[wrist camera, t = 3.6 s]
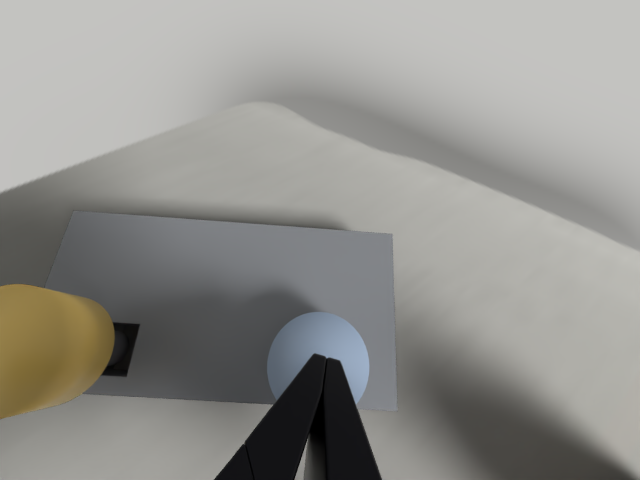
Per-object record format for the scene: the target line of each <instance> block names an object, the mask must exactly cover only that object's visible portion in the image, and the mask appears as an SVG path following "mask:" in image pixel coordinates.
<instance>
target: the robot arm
mask: <svg viewBox="0 0 640 480" xmlns="http://www.w3.org/2000/svg"><path fill="white" fill-rule="evenodd" d="M307 439H308V441H307ZM306 442H307V450H306V460H305V470H304V480H382V478H381V475H380V473H379V470H378V467H377V464H376V461H375V458H374V455H373V452H372V449H371V447H370V444H369V441H368V438H367V435H366V432H365V429H364V426H363V423H362V421H361V418H360V415H359V412H358V409H357V406H356V403H355V400H354V397H353V395H352V392H351V389H350V386H349V383H348V380H347V377H346V374H345V371H344V369H343V366H342V363H341V361H340V360H337V359H334V358H330V357H328V358H326V356H323V355H320V354H316V353H314V354H313V355H312V356H311V357H310V358H309V360H308V361H307V362H306V364H305V365H304V366H303V367H302V369H301V370H300V371H299V373H298V374H297V375H296V376H295V378H294V379H293V380H292V382H291V383H290V384H289V385H288V387H287V388H286V389H285V391H284V392H283V393H282V394H281V396H280V397H279V398H278V400H277V401H276V402H275V404H274V405H273V406H272V407H271V409H270V410H269V411H268V413H267V414H266V415H265V416H264V418H263V419H262V420H261V422H260V423H259V424H258V425H257V427H256V428H255V429H254V431H253V432H252V433H251V434H250V436H249V437H248V438H247V440H246V441H245V443H244V444H243V445H242V446H241V447H240V448H239V450H238V451H237V452H236V453H235V455H234V456H233V457H232V459H231V460H230V461H229V462H228V463H227V465H226V466H225V467H224V468H223V469H222V471H221V472H220V473H219V474H218V476H217V477H216V478H215V479H214V480H294V479H295V476H296V473H297V470H298V466H299V463H300V460H301V457H302V454H303V451H304V448H305V445H306Z"/></svg>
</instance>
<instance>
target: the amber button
mask: <svg viewBox="0 0 640 480" xmlns="http://www.w3.org/2000/svg"><path fill="white" fill-rule="evenodd" d="M128 349H129V340H128V337H127V336H126V335H125V334H124V333H122V332H120V331H114V326H113V322H112V320H111V317H110V316H109V314H108V312H107V311H106V310H105V308H103V307H102V306H101V305H100V304H99V303H97V302H95V301H93V300H91V299H89V298H85V297H81V296H76V295H72V294H67V293H63V292H58V291H54V290H50V289H45V288H41V287H36V286H32V285H25V284H11V285H4V286H0V419H2V418H6V417H11V416H15V415H19V414H23V413H27V412H32V411H36V410H40V409H44V408H48V407H53V406H57V405H60V404H63V403H66V402H68V401H70V400H72V399H74V398H76V397H78V396H79V395H81V394H82V393H83V392H85V391H86V390H87V389H88V388H89V387H91V386H92V385H93V384H94V383H95V381H96V380H97V379H98V378H99V377H100V375H101V374H102V373H103V371H104V369H105V368H106V366H111V365H114V364H117V363H119V362H120V361H121V360H122V359H123V358H124V357H125V356H126V354H127V352H128Z"/></svg>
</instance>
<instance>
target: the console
mask: <svg viewBox="0 0 640 480" xmlns="http://www.w3.org/2000/svg"><path fill="white" fill-rule="evenodd" d="M44 288H45V289H50V290H54V291H58V292H63V293H67V294H72V295H76V296H81V297H85V298H89V299H91V300H93V301H95V302H97V303H99V304H100V305H101V306H102V307H103V308H105V310H106V311H107V312H108V314H109V316H110V317H111V320H112V322H113V326H114V331H120V332H122V333H124V334H125V335H126V336H127V337H128V340H129V349H128V352H127V354H126V356H125V357H124V358H123V359H122V360H121V361H120V362H119V363H117V364H114V365H111V366H106V368H105V369H104V371H103V373H102V374H101V375H100V377H99V378H98V379H97V380H96V381H95V383H94V384H93V385H92V386H91V387H89V388H88V389H87V390H86V391H85V392H83V393H82V394H93V395H111V396H129V397H147V398H166V399H184V400H202V401H220V402H238V403H256V404H275V402H276V401H277V400H276V398H275V397H274V395H273V393H272V390H271V388H270V385H269V380H268V374H267V361H268V355H269V351H270V348H271V345H272V343H273V341H274V339H275V337H276V336H277V334H278V333H279V331H280V330H281V329H282V328H283V327H284V326H285V325H286V324H287V323H288V322H290V321H291V320H293V319H294V318H296V317H298V316H300V315H303V314H306V313H311V312H326V313H331V314H334V315H337V316H339V317H341V318H343V319H344V320H346V321H347V322H348V323H350V324H351V325H352V326H353V327H354V328H355V329H356V330H357V332H358V333H359V334H360V336H361V338H362V339H363V341H364V344H365V346H366V349H367V352H368V357H369V377H368V382H367V385H366V389H365V391H364V393H363V395H362V397H361V398H360V400H359V402H358V403H357V404H356V406H357V409H365V410H383V411H397V377H396V343H395V309H394V274H393V240H392V234H387V233H374V232H360V231H346V230H333V229H319V228H306V227H292V226H278V225H265V224H251V223H238V222H224V221H210V220H197V219H183V218H169V217H156V216H142V215H129V214H115V213H101V212H88V211H74V210H73V213H72V216H71V218H70V221H69V223H68V226H67V229H66V231H65V234H64V237H63V239H62V242H61V244H60V247H59V250H58V252H57V255H56V257H55V260H54V263H53V265H52V268H51V271H50V273H49V276H48V278H47V281H46V284H45V286H44Z"/></svg>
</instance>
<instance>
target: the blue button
mask: <svg viewBox="0 0 640 480" xmlns="http://www.w3.org/2000/svg"><path fill="white" fill-rule="evenodd" d="M314 353H316V354H320V355H323V356H326V358H328V357H330V358H334V359H337V360H340V361H341V363H342V366H343V369H344V371H345V374H346V377H347V380H348V383H349V386H350V389H351V392H352V395H353V397H354V400H355V403H356V404H357V403H358V402H359V400H360V398H361V397H362V395H363V393H364V391H365V389H366V385H367V382H368V377H369V357H368V352H367V349H366V346H365V344H364V341H363V339H362V338H361V336H360V334H359V333H358V332H357V330H356V329H355V328H354V327H353V326H352V325H351V324H350V323H348V322H347V321H346V320H344V319H343V318H341V317H339V316H337V315H334V314H331V313H326V312H311V313H306V314H303V315H300V316H298V317H296V318H294V319H293V320H291V321H290V322H288V323H287V324H286V325H285V326H284V327H283V328H282V329H281V330H280V331H279V333H278V334H277V336H276V337H275V339H274V341H273V343H272V345H271V348H270V351H269V355H268V361H267V374H268V380H269V385H270V388H271V390H272V393H273V395H274V397H275V398H276V400H278V398H279V397H280V396H281V394H282V393H283V392H284V391H285V389H286V388H287V387H288V385H289V384H290V383H291V382H292V380H293V379H294V378H295V376H296V375H297V374H298V373H299V371H300V370H301V369H302V367H303V366H304V365H305V364H306V362H307V361H308V360H309V358H310V357H311V356H312V355H313V354H314Z"/></svg>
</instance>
